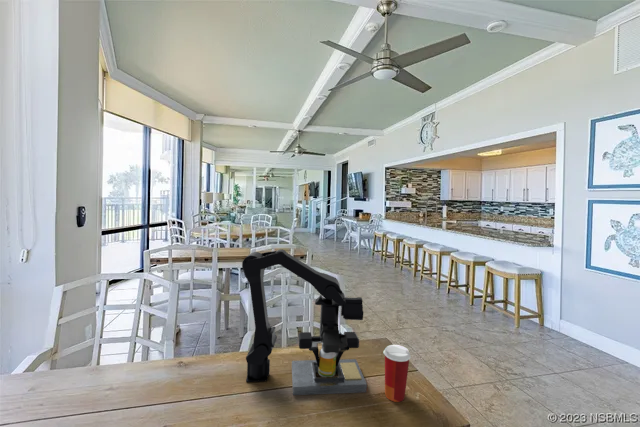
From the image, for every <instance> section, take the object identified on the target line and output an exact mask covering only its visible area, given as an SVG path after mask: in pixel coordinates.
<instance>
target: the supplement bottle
mask: <svg viewBox="0 0 640 427" xmlns="http://www.w3.org/2000/svg"><path fill="white" fill-rule="evenodd" d="M335 370H336V353H335V352H330V353H325V352H324V350H323V343H321V349H319V372H318V375H319V376H320V377H335V375H336V372H335Z"/></svg>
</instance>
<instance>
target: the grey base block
mask: <svg viewBox="0 0 640 427" xmlns="http://www.w3.org/2000/svg"><path fill="white" fill-rule="evenodd" d="M316 373H319V367H318V365H317V362H316V359H312V360H311V359H308V360H307V359H306V360H305V359H304V360H303V359H301V360H292V361H291V379H292V380H291V383H292V396H305V395H307V396H308V395H329V394H330V395H331V394H356V393H358V394H359V393H367V388H368V385H367V384H368V383H367V381H366V379H365V377H364V375H363V372H362V370H361V368H360V365H359V363H358V361H357V359H356V358H353V359H352V358H351V359H349V358H346V359H342V358H340V361H339V363H338V365H337V366H336V370H335V373H337V376H333V377H321V376H320V377H319V376H318V377H317V376H316Z"/></svg>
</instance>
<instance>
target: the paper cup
mask: <svg viewBox="0 0 640 427" xmlns="http://www.w3.org/2000/svg"><path fill="white" fill-rule="evenodd" d="M383 355H384V392H385V393H384V394H385V397H386V399H388V400H389V401H391V402H395V403H400V402H403V401H404V399H405V397H406V390H407V382H408V374H409V373H408V372H409V364H410V359H412V358H411V357H412V356H411V353H410V351H409V349H408V348H407V347H405V346H403V345H399V344H390V345H387V346H386V347H385V348H384V350H383Z"/></svg>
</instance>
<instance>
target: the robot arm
mask: <svg viewBox="0 0 640 427" xmlns="http://www.w3.org/2000/svg"><path fill="white" fill-rule="evenodd" d="M277 265H280V266H281V267H283V268H285V269H286V270H288V271H289V272H291V273H293V274H294V275H296V276H297V277H299V278H300V279H302V280H304V281H306V282H307V283H309V284H310V285H311V286H312V287H313V288H314V289H315V291H317V292H318V293H319V296H318V297H317V298H315V300H314V301H315V303H314V304H315V306H320V317H319V335H318V336H317V335H316V336H315V335H314V336H312V332H311V331H310V332H309V331H303V332H302V331H301V332H299V333H298V336H297V337H298V338H297V339H298V340H297V341H298V349H300V350H308V351H310V352H312V353H313V355H314V358H315V360H316V362H317V365H318V367H319V352H320V349H319V346H318V344H322V343H323V350H324V352H325V353H330V352H335V353H336V366H337V365H338V363H339V361H340V360H341V359H342V356H343V354H344V353H345V352H346V351H349V350H350V349H359V348H360V339H359V337H358V335H357V333H356V332H355V331H344V332H343V333H340V331H339V317H340V316H341V317H342V319H344V320H345V321H346V320H348V321H363V319H364V308H363V302H364V301H363V298H362V297H359V296H358V297H347V296H345V294H344V292H343V291H342V290H341V286H340V281H339V280H338V278H336V277H334V276H332V275H329V274H327V273H323V272H320V271H318V270H315V269H314V268H312V267H311V266H309V265H307V264H306V263H305V262H302V261H301V260H299V259H298V258H296V257H294V256H292V254H290V253H289V252H287V251H286V250H285V249H281V248H280V249H277V250H273V251H272V250H271V251H266V252H259V251H252V252H251V253H250V254H248V255H247V256H245V258H244V259H243V260H242V262H241V266H242V270H243V273H244V276H245V279H246V280H247V282H248V284H249V288H250V289H249V290H250V297H251V305H252V311H253V319H254V327H255V328H254V335H253V343H252V344H251V346H250V348H249V350H248V352H247V355H246V357H245V360H246V363H247V364H246V368H247V369H246V370H247V371H246V377H245V378H246V380H245V382H246V383H252V382H256V383H257V382H268V377H269V376H270V370H271V368H270V367H271V366H270V365H271V360H270V359H269V356H270V355H271V354H272V351H273V348H275V345H276V342H277V339H278V336H277V335H276V333H277V332H276V326H271V324H270V322H269V316H268V308H267V307H268V306H267V299H266V291H265V283H264V277H265V269H268V268H270V267H273V266H277ZM339 310H340V311H339ZM339 315H340V316H339Z"/></svg>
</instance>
